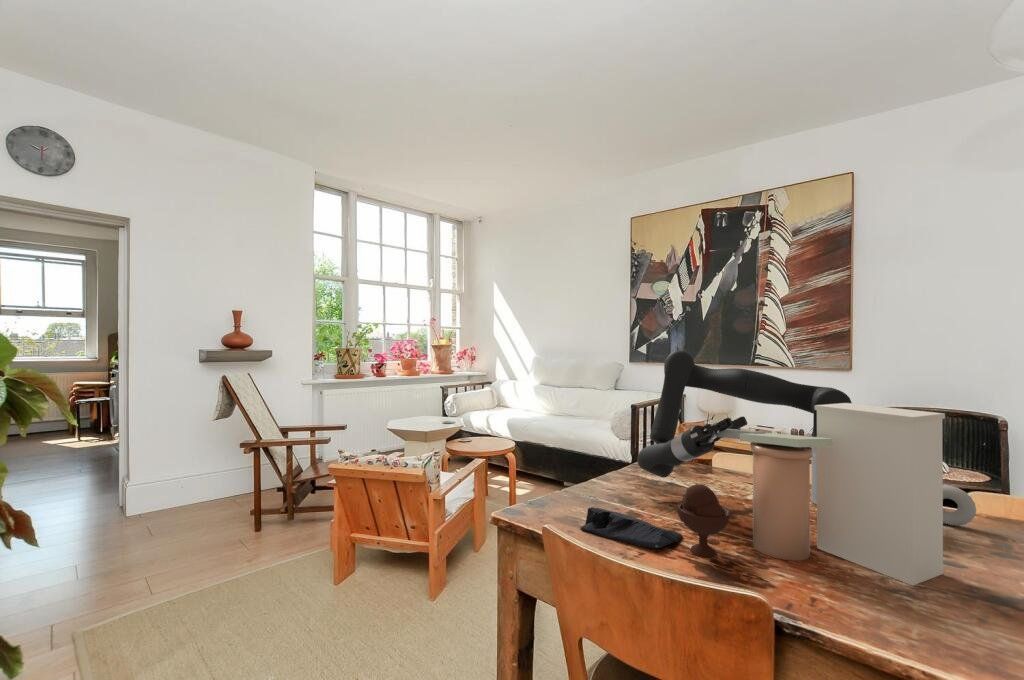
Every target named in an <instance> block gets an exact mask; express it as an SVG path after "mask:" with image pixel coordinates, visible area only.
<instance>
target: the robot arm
mask: <svg viewBox="0 0 1024 680" xmlns="http://www.w3.org/2000/svg"><path fill="white" fill-rule="evenodd" d="M663 364H664V365H663V368H664V369H663V371H664V378H663V385H662V391H661V395H660V398H659V401H658V405H657V408H656V412H655V416H654V419H653V423H652V426H651V429H650V435H649V437H650V440H651V441H652V442H653V444H650V445H648V446H646V447H644V448H642V449H641V450H640V452H639V453H638V455H637V460H636V461H637V464H638V466H639V467H640V469H642V470H643V471H645V472H649V473H651V474H653V475H655V476H657V477H660V478H667V477H669V476H670V475H671V474H672V472H673V471H674V468H675V467H676V466H680V465H683V464H684V463H686V462H689V461H693V460H695V459H697V458H699V457H702V456H704V455H706V454H709V453H710V452H712V451H713V450H714V447H715V443H718V442H721V441H722V439H725V438H724V437H718V434H719V433H721V431H724V430H726V429H737V430H742V428H743V427H745V426H748V421H747V418H746V417H745V416H740V417H737V418H736V419H734V420H732V418H731V417H726V418H724V419H722V420H720V421H718V422H714V423H711V424H710V423H707V424H705V425H703V426H702V425H700V424H699V425H698V424H697V425H694V426H692V427H690V428H689V429H686V430H685V431H683V432H681V433H679V434H677V435H676V433H677V428H678V424H679V418H680V414H681V413H680V411H681V406H682V401H683V396H684V392H685V388H686V387H687V388H694V389H701V390H707V391H711V392H714V393H718V394H722V395H725V396H729V397H732V398H737V399H740V400H741V399H742V400H745V401H750V402H752V403H758V404H766V405H775V406H786V407H791V408H794V409H798V410H800V411H801V410H802V411H805V412H808V413H811V414H812V415H813V425H812V427H813V428H812V431H811V436H810V437H817V410H815V405H826V404H839V403H851V404H853V402H852V399H851V398H850V396H849V395H847V394H846V392H844V391H842V390H841V389H840V390H839V389H837V388H834V387H826V386H819V385H808V384H803V383H797V382H792V381H789V380H787V379H784V378H780V377H778V376H774V375H771V374H767V373H764V372H759V371H756V370H750V369H746V368H739V367H738V368H711V367H705V366H701V365H697V364H695V360H694V358H693V356H692V355H691V354H689V352H687V351H685V350H675V351H673V352H671V353H669V355H667V356H666V358H665V360H664V363H663ZM811 448H812V457H811V458H810V460H811V461H810V463H811V466H810V467H811V468H810V469H811V470H810V473H811V487H810V488H811V489H810V490H811V492H810V493H811V494H810V496H811V497H810V498H811V503H812V504H813V505H816V506H817V447H811Z"/></svg>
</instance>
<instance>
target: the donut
mask: <svg viewBox="0 0 1024 680" xmlns="http://www.w3.org/2000/svg"><path fill="white" fill-rule="evenodd" d="M945 499H949V500H952V501H954V502H955V503H956V505H957V509H956V510H954V511H949V510H946V509H945V508H943V525H944V524H945V525H947V524H948V526H954V525H956V527H958V526H965V525H967V524H968V523H971V522H972V521H973V520H974V519H975V517H976V514H977V507H976V502H975V501H974V500H973V498H972V496H970V495H969V494H968V493H967V492H966V491H964V490H962V489H961V488H958V486H957V487H956V486H953V485H950V484H949V485H948V484H943V500H945Z"/></svg>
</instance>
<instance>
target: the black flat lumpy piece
mask: <svg viewBox="0 0 1024 680" xmlns="http://www.w3.org/2000/svg"><path fill="white" fill-rule="evenodd" d="M579 529H581V531H584V532H590V533H592V534H594V535H597V536H599V537H605V538H608V539H610V540H617V541H620V542H623V543H626V544H632V545H634V546H638V547H643V548H646V549H648V548H650V549H652V550H653V549H660V548H662V547H665V546H669V545H670V544H673V543H676V542H679V541H681V540H682V538H683V537H684V536H683V535H682V534H681V533H679V532H677V531H674V530H670V529H666V528H663V527H660V526H656V525H653V524H652V523H650V522H648V521H645V520H642V519H640V518H636V517H633V516H631V515H627V514H624V513H621V512H617V511H612V510H609V509H604V508H600V507H592V506H591V507H588V509H587V514H586V518H585V523H584V524H583V526H582V525H581V526H580V527H579Z"/></svg>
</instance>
